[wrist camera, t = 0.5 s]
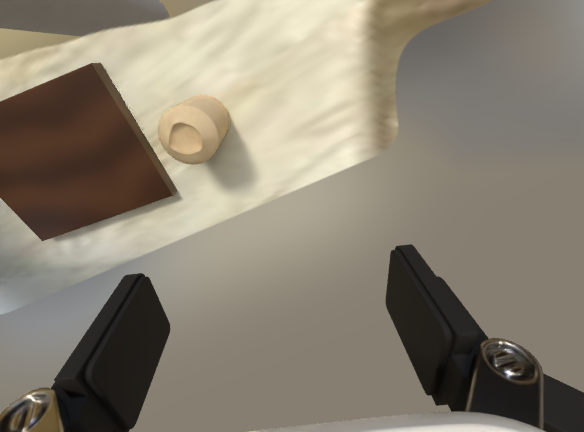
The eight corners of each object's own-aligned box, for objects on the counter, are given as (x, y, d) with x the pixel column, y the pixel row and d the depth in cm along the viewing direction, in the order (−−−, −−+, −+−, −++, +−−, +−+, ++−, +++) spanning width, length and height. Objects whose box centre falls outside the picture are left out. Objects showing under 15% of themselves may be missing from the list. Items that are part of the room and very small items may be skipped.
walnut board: (-50, 125, 33) (-66, 129, 31) (100, 62, 31) (91, 63, 29) (51, 234, 41) (42, 241, 39) (177, 189, 38) (172, 195, 37)
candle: (195, 146, 36) (170, 176, 27) (174, 102, 33) (140, 118, 24) (236, 134, 35) (225, 160, 27) (219, 88, 33) (200, 99, 24)
